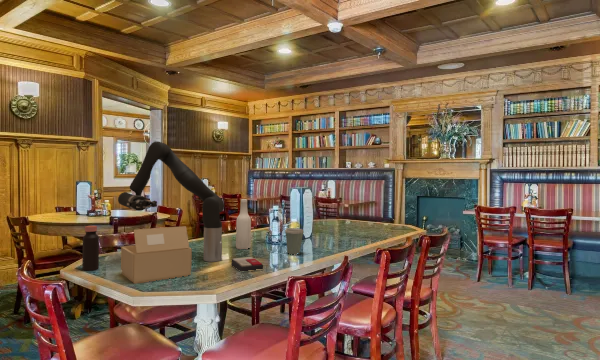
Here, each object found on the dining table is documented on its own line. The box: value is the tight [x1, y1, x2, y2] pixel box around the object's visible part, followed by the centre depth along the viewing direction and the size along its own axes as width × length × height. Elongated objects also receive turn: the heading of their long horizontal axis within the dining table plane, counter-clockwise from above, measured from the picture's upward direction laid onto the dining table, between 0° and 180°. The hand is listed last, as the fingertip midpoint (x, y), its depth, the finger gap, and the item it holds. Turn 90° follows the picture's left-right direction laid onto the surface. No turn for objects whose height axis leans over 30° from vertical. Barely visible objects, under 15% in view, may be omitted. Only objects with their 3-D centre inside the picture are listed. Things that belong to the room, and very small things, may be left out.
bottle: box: [81, 225, 100, 272], centre depth 188 cm, size 7×7×20 cm
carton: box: [120, 245, 193, 285], centre depth 180 cm, size 25×20×12 cm
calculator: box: [230, 256, 264, 272], centre depth 196 cm, size 11×4×15 cm
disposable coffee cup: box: [284, 227, 304, 255], centre depth 231 cm, size 11×11×15 cm
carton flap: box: [133, 225, 190, 253], centre depth 174 cm, size 22×10×1 cm
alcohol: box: [235, 198, 252, 250], centre depth 246 cm, size 9×9×30 cm
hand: (147, 205), depth 191 cm, fingers open, 5 cm apart
